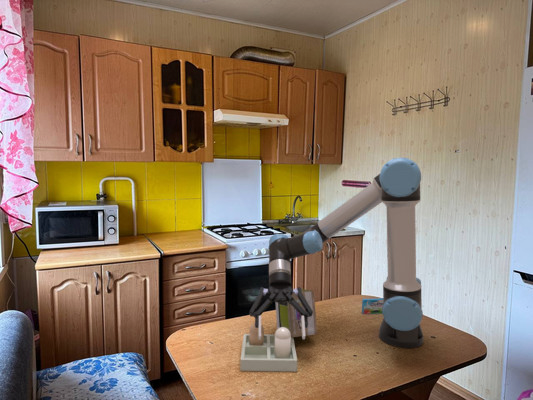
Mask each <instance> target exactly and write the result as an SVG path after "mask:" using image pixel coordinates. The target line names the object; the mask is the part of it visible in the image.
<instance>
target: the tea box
mask: <svg viewBox="0 0 533 400" xmlns="http://www.w3.org/2000/svg"><path fill="white" fill-rule="evenodd" d="M301 291H302V294H303V296H304V298H305V299H306V301H307V303H308V304H309V306H310V307H311V309H312V311H313V314H312V316H311V317H308V327H307V328H305V337H306V336H313V335H318V328H317V327H318V324H317V313H316V301H315V299H316V298H315V291H314V290H313V289H311V290H310V289H305V288H301ZM291 296H292V297H293V298H294V300H295V301H296V302H297V303H298V304H299V305H300V306H301V307H302V308H303V309H304V307H303V305H302V304H301V302H300V300H299V298H298V296H296V295H295V293H293V294H292V295H291ZM304 310H305V309H304ZM305 311H306V310H305ZM275 316H276V317H275V318H276V330H277V329H278V328H280V327H285V328H287V329H288V330H289V331H290V333H291V337H292V338H298V337H299V338H300V337H302V327H301V317H302V316H301V315H300V314H299V313H298V311H297V310H296V309H295V308H294V307H293V306H292V305H291V304H289V303H288V302H287V301H286V302H275Z"/></svg>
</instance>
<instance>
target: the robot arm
mask: <svg viewBox="0 0 533 400" xmlns="http://www.w3.org/2000/svg"><path fill="white" fill-rule="evenodd" d="M372 179H373V180H372V183H370V184H369V185H367V186H366V187H365V188H363V189H362V190H360V191H359V192H358V193H356V194H355V195H353V196H352V197H351V198H349V199H348V200H346V201H345V202H344V203H342V204H341V205H340V206H339V207H337V208H335V209H334V210H332V211H331V212H330V213H329V214H327V215H326V216H324V217H322V219H320V220H319V221H318V222H316V223H314V224H313V225H312V226H311V227H309V228H308V229H306V230H305V231H303V232H302V233H300V234H297V235H294V236H292V237H288V235H287V234H284V233H280V234H278V233H276V234H275V233H274V234H273V235H271V236H270V238H269V239H268V240H269V241H268V261H269V262H268V288H264V287H263V286H261V287H260V289H259V292H258V295H257V297H256V299H255V300H254V302H253V304H252V306H251V308H250V310H249V316H250V317H253V318H254V323H255V327H256V328H259V339H261V325H262V314H263V313H265V311H266V310H267V309H268V308H269V307H270V305H272V304H273V303H274V302H275V303H276V302H286V301H287V302H288V303H289V304H291V305H292V306H293V307H294V308H295V309H296V310H297V311H298V313H299V314H300V315H301V316H302V317H301V327H302V336H301V338H302V340H305V339H306V336H305V328H307V327H308V317H311V316H312V314H313V311H312V309H311V307H310V306H309V304H308V303H307V301H306V299H305V298H304V296H303V294H302V291H301V289H302V288H301V287H300V286H299V287H297V288H293V287H292V276H291V274H292V273H291V271H292V270H291V260H292V259H296V258H300V257H305V256H308V255H313V254H316V253H317V252H321V251H322V250H323V247H324V246H323V245H324V243H326V242H327V241H328V240H329V239H330V238H332V237H334V236H335V235H337V234H338V233H339V232H341V231H343V230H344V229H345V228H347V227H348V226H350V225H351V224H352V223H354V222H356V221H358V219H360V218H361V217H363V216H364V215H366V214H367V213H369V212H370V211H371V210H373V209H374V208H376V207H377V206H378V205H380V204H381V203H383V204H384V205H385V207H386V249H387V251H386V252H387V256H386V257H387V277H386V280H385V281H383V284H382V292H383V293H382V294H383V295H382V298H383V307H382V313H383V314H382V316H383V318H382V321H381V323H380V325H379V328H378V337H379V339H380V340H381V341H383V342H384V343H386V344H388V345H390V346H394V347H396V348H397V347H398V348H403V349H415V348H420V347H421V346H422V345H423V344H424V333H423V330H422V327H421V322H422V319H423V316H424V315H423V314H424V313H423V309H422V306H423V304H422V301H423V300H422V280H421V279H420V278H418V277H417V254H416V253H417V251H416V250H417V248H416V247H417V244H416V243H417V241H416V239H417V237H416V234H417V233H416V206H417V205H418V204H419V203H420V202H421V181H422V172H421V169H420V168H419V165H418V164H417V163H416V162H415V161H413V160H412V159H410V158H408V157H395V158H392V159H390V160H388V161H387V162H386V163H385V164H384V165H383V166H382V168H381V169H380V173H378V175H376V176H375V177H373V178H372ZM293 293H295V295H296V296H298V298H299V300H300V302H301V304H302V305H303V307H304V309H305V310H306V311H305V310H304V309H303V308H302V307H301V306H300V305H299V304H298V303H297V302H296V301H295V300H294V298H293V297H292V296H291V295H292V294H293ZM267 294H268V295H269V296H268V298H267V299H266V300H265V301H264V303H263V304H262V305H261V306H260V304H261V302H262V299H263V297H264V296H266V295H267Z"/></svg>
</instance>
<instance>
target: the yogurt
mask: <svg viewBox="0 0 533 400" xmlns="http://www.w3.org/2000/svg"><path fill="white" fill-rule="evenodd" d="M361 301H362V302H361V305H362V306H361V314H363V315H378V314H381V315H383V313H382V307H383V297H379V298H362V300H361Z"/></svg>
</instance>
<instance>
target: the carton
mask: <svg viewBox="0 0 533 400" xmlns="http://www.w3.org/2000/svg"><path fill="white" fill-rule="evenodd" d="M248 330H249V333H243V338H242V346H241V353H240V372H289V373H291V372H293V373H295V372H298V358H297V352H296V346H295V340H294V338H295V337H293V338H292V337H291V351H290V359H274V352H275V333H273V334H272V333H271V334H268V333H265V329H264V325H262V324H261V339H259V328H256V327H255V322H254V323H252V324H251V325H250V327H249V329H248Z"/></svg>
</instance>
